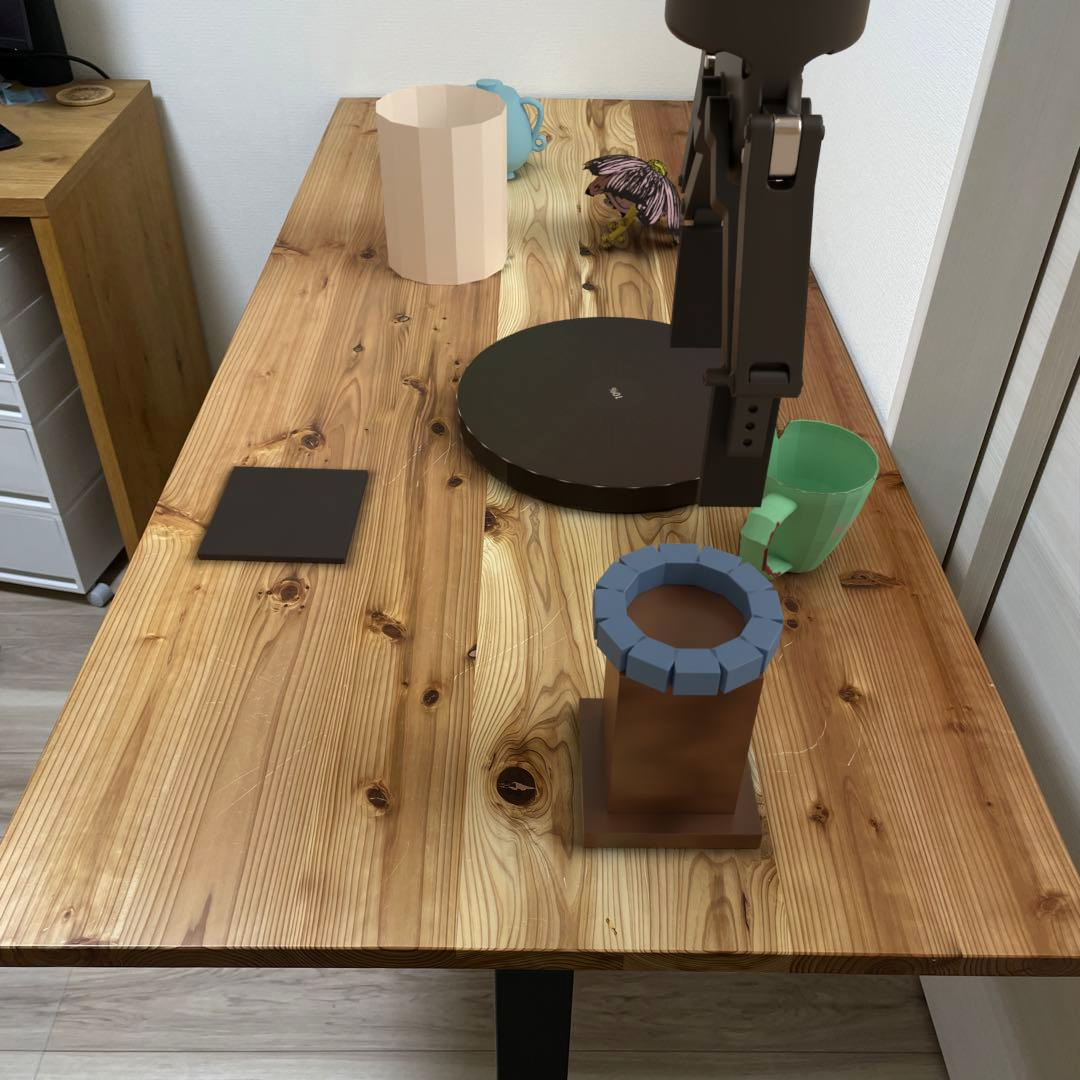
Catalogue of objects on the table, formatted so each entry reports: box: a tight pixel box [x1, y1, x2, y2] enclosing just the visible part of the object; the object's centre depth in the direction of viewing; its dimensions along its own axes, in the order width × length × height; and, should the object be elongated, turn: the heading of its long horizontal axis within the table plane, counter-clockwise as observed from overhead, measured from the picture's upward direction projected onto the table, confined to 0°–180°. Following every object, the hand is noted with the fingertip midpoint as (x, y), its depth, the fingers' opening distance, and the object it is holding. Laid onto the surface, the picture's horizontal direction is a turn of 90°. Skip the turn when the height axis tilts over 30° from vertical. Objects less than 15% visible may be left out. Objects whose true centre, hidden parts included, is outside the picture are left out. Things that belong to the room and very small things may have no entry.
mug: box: [736, 419, 881, 581], centre depth 83 cm, size 15×10×10 cm
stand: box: [577, 585, 765, 849], centre depth 66 cm, size 11×11×14 cm
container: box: [375, 83, 509, 286], centre depth 124 cm, size 14×14×18 cm
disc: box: [455, 316, 722, 513], centre depth 102 cm, size 30×30×3 cm
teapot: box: [466, 78, 548, 180], centre depth 148 cm, size 20×17×12 cm
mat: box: [196, 465, 369, 564], centre depth 91 cm, size 12×12×1 cm
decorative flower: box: [582, 153, 685, 250], centre depth 130 cm, size 15×12×15 cm
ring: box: [591, 542, 785, 695], centre depth 61 cm, size 11×11×2 cm
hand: (710, 416), depth 52 cm, fingers open, 13 cm apart
